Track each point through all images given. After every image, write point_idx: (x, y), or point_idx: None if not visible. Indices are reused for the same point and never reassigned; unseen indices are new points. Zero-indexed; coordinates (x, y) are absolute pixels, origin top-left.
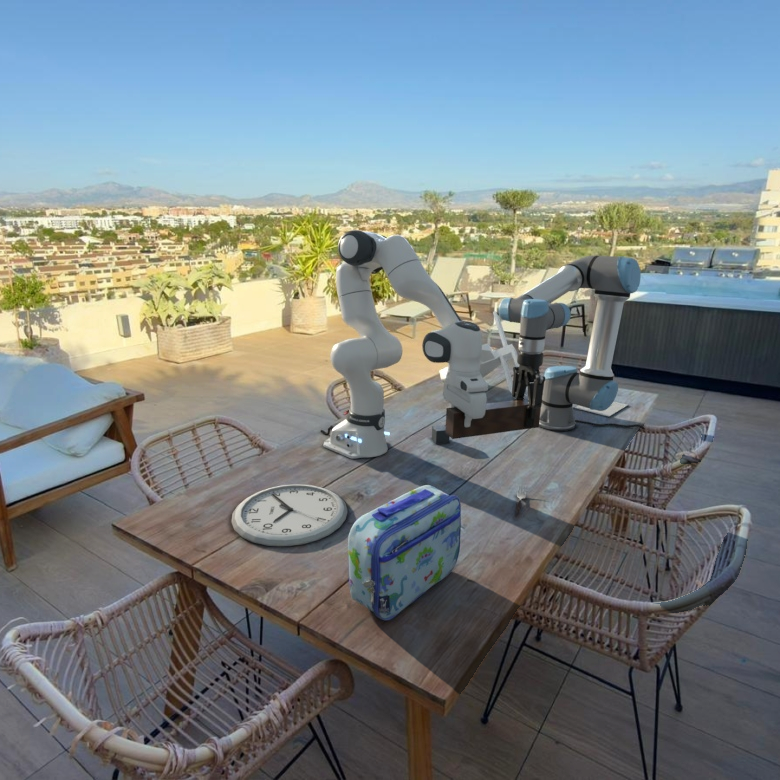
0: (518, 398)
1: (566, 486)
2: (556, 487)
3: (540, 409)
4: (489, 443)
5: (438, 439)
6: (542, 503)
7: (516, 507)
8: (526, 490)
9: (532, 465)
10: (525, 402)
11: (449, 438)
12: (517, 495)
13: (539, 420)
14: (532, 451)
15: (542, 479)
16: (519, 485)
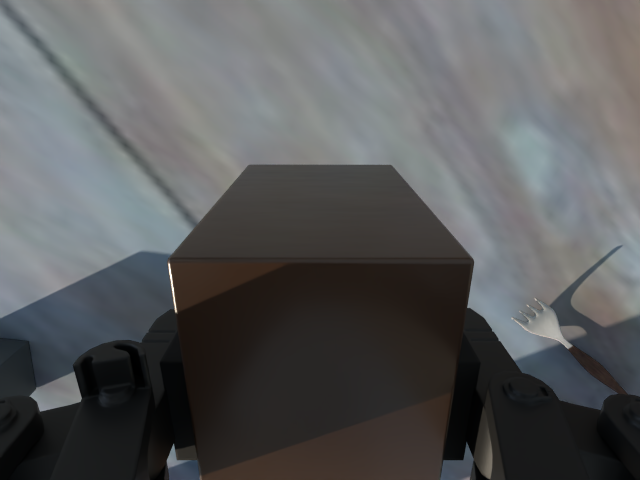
0: (153, 470)
1: (567, 98)
2: (551, 149)
3: (441, 226)
4: (43, 177)
5: (21, 395)
6: (610, 277)
7: (601, 381)
8: (542, 303)
9: (331, 118)
10: (335, 455)
11: (12, 354)
12: (531, 331)
13: (404, 180)
14: (176, 5)
15: (466, 161)
16: (515, 319)
